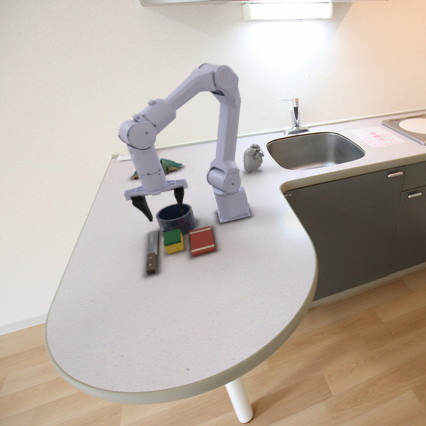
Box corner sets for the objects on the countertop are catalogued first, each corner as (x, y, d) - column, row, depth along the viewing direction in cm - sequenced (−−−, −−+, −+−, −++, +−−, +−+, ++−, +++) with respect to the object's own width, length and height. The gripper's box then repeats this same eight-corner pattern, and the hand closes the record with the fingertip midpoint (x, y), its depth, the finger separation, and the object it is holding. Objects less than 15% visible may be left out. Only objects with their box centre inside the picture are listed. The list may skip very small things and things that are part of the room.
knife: (158, 231, 94) (156, 227, 93) (156, 272, 78) (154, 268, 78) (150, 233, 93) (148, 229, 92) (147, 275, 78) (145, 271, 77)
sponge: (183, 238, 91) (179, 228, 89) (183, 249, 86) (180, 240, 84) (167, 241, 89) (164, 232, 87) (167, 254, 85) (163, 244, 83)
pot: (195, 215, 101) (190, 200, 98) (197, 231, 93) (192, 215, 90) (161, 222, 98) (156, 207, 95) (161, 239, 90) (155, 224, 87)
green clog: (132, 172, 131) (128, 160, 129) (183, 164, 138) (180, 153, 135) (131, 181, 124) (127, 169, 121) (184, 173, 131) (181, 161, 128)
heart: (252, 162, 135) (245, 137, 127) (270, 165, 131) (264, 140, 123) (239, 175, 129) (229, 149, 121) (257, 178, 125) (249, 153, 117)
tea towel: (210, 227, 94) (210, 225, 94) (215, 250, 85) (214, 248, 85) (190, 232, 93) (189, 230, 92) (192, 256, 83) (191, 254, 83)
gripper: (114, 183, 71) (136, 231, 78) (181, 170, 75) (196, 217, 83) (118, 171, 76) (138, 217, 84) (180, 160, 81) (194, 204, 88)
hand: (167, 216), depth 84 cm, fingers open, 7 cm apart
